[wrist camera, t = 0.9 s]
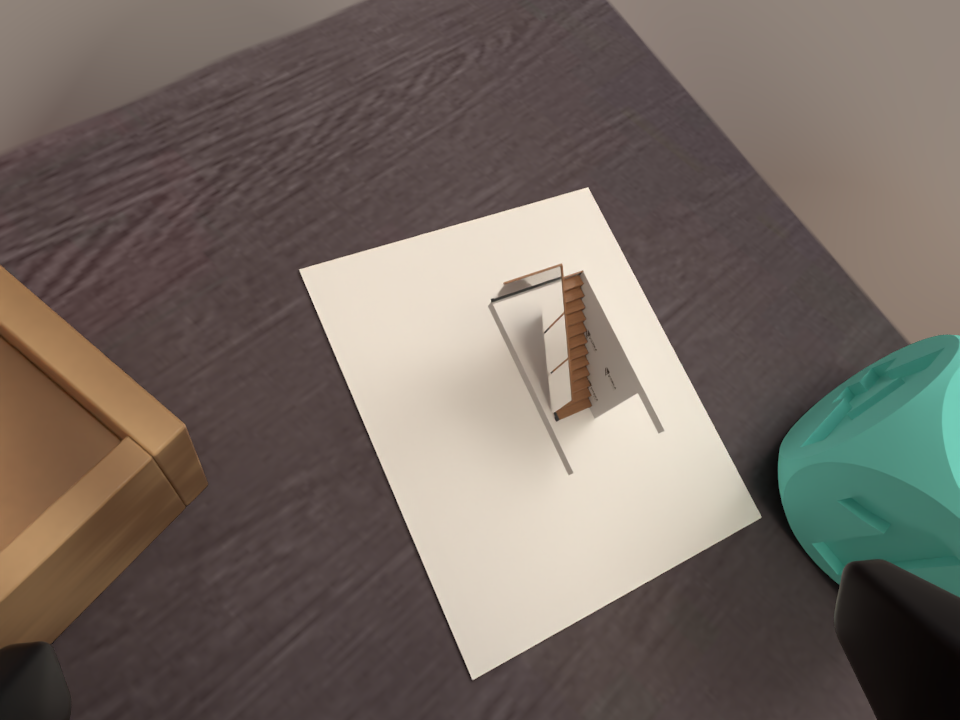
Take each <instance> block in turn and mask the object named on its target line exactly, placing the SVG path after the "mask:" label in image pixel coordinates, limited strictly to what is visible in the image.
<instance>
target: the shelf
mask: <svg viewBox="0 0 960 720" xmlns="http://www.w3.org/2000/svg"><path fill="white" fill-rule="evenodd" d="M207 486H208V482H207V479H206V476H205V474H204V471H203V469H202V466H201V464H200V461H199V459H198V456H197V454H196V451H195V449H194V446H193V443H192V441H191V438H190V436H189V433H188V431H187V428H186V426H185V424H184V423H183V422H182V421H181V420H179V419H178V418H177V417H176V416H175V415H174V414H172V413H171V412H170V411H169V410H168V409H167V408H165V407H164V406H163V405H162V404H161V403H160V402H158V401H157V400H156V399H155V398H154V397H153V396H152V395H150V394H149V393H148V392H147V391H146V390H145V389H143V388H142V387H141V386H140V385H139V384H138V383H136V382H135V381H134V380H133V379H132V378H131V377H130V376H128V375H127V374H126V373H125V372H124V371H123V370H121V369H120V368H119V367H118V366H117V365H116V364H114V363H113V362H112V361H111V360H110V359H109V358H108V357H106V356H105V355H104V354H103V353H102V352H101V351H99V350H98V349H97V348H96V347H95V346H94V345H92V344H91V343H90V342H89V341H88V340H87V339H86V338H84V337H83V336H82V335H81V334H80V333H79V332H77V331H76V330H75V329H74V328H73V327H72V326H70V325H69V324H68V323H67V322H66V321H65V320H63V319H62V318H61V317H60V316H59V315H58V314H57V313H55V312H54V311H53V310H52V309H51V308H50V307H48V306H47V305H46V304H45V303H44V302H43V301H41V300H40V299H39V298H38V297H37V296H36V295H35V294H33V293H32V292H31V291H30V290H29V289H28V288H26V287H25V286H24V285H23V284H22V283H21V282H19V281H18V280H17V279H16V278H15V277H14V276H13V275H11V274H10V273H9V272H8V271H7V270H6V269H4V268H3V267H2V266H1V265H0V649H1V648H3V647H5V646H7V645H11V644H16V643H26V642H36V641H44V642H47V643H49V644H51V643H52V642H53V641H54V640H55V639H56V638H57V637H58V636H59V635H60V634H61V633H62V632H63V631H64V630H65V629H66V628H67V627H68V626H69V625H70V624H71V623H72V622H73V621H74V620H75V619H76V618H77V617H78V616H79V615H80V614H81V613H82V612H83V611H84V610H85V609H86V608H87V607H88V606H89V605H90V604H91V603H92V602H93V601H94V600H95V599H96V598H97V597H98V596H99V595H100V594H101V593H102V592H103V591H104V590H105V589H106V588H107V587H108V586H109V585H110V584H111V583H112V582H113V581H114V580H115V579H116V578H117V577H118V576H119V575H120V574H121V573H122V572H123V571H124V570H125V569H126V568H127V567H128V566H129V565H130V564H131V563H132V562H133V561H134V560H135V559H136V558H137V556H138V555H139V554H140V553H141V552H142V551H143V550H144V549H145V548H146V547H147V546H148V545H149V544H150V543H151V542H152V541H153V540H154V539H155V538H156V537H157V536H158V535H159V534H160V533H161V532H162V531H163V530H164V529H165V528H166V527H167V526H168V525H169V524H170V523H171V522H172V521H173V520H174V519H175V518H176V517H177V516H178V515H179V514H180V513H181V512H182V511H183V510H184V509H185V505H186V506H187V505H189V504H190V503H191V502H192V501H193V500H194V499H195V498H196V497H197V496H198V495H199V494H200V493H201V492H202V491H203V490H204V489H205V488H206V487H207Z"/></svg>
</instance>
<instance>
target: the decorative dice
mask: <svg viewBox="0 0 960 720" xmlns="http://www.w3.org/2000/svg"><path fill="white" fill-rule="evenodd" d="M778 484H779V491H780V496H781V501H782V505H783V508H784V511H785V514H786V517H787V520H788V522H789V525H790V527H791V529H792V531H793V533H794V535H795V537H796V538H797V540H798V541H799V543H800V544H801V546H802V547H803V549H804V550H805V551H806V552H807V554H808V555H809V556H810V557H811V558H812V560H813V561H814V562H815V563H816V564H817V565H818V566H819V567H820V568H821V569H822V570H823V571H824V572H825V573H826V574H827V575H828V576H829V577H831V578H832V579H833V580H834V581H835V582H836V583H838V584H839V585H840V581H841V575H842V571H843V569H844V567H845V566H846V565H847V564H848V563H850V562H852V561H861V560H871V559H882V560H886V561H888V562H890V563H892V564H894V565H896V566H898V567H900V568H902V569H904V570H906V571H908V572H910V573H912V574H914V575H916V576H918V577H920V578H922V579H924V580H926V581H928V582H930V583H932V584H934V585H936V586H938V587H940V588H942V589H944V590H946V591H948V592H950V593H952V594H954V595H956V596H958V597H960V336H958V335H939V336H934V337H930V338H927V339H924V340H921V341H918V342H915V343H913V344H910V345H908V346H906V347H904V348H901V349H899V350H897V351H895V352H893V353H891V354H889V355H887V356H886V357H884V358H882V359H880V360H878V361H877V362H875V363H873V364H871V365H870V366H868V367H866V368H865V369H863V370H862V371H860V372H858V373H857V374H855V375H854V376H852V377H851V378H849V379H848V380H846V381H845V382H844V383H842V384H841V385H839V386H838V387H837V388H835V389H834V390H833V391H831V392H830V393H829V394H827V395H826V396H825V397H824V398H822V399H821V400H820V401H819V402H818V403H816V404H815V405H814V406H813V407H812V408H811V409H810V410H808V411H807V412H806V413H805V414H804V415H803V416H802V417H801V418H800V419H799V420H798V421H797V422H796V423H795V425H794V426H793V427H792V428H791V429H790V431H789V432H788V433H787V435H786V436H785V438H784V439H783V441H782V443H781V445H780V450H779V458H778Z"/></svg>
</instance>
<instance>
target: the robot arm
mask: <svg viewBox="0 0 960 720" xmlns="http://www.w3.org/2000/svg"><path fill="white" fill-rule="evenodd" d="M834 626H835V631H836V634H837V637H838V639H839V641H840V643H841V645H842V648H843V650H844V652H845V654H846V656H847V658H848V660H849V662H850V664H851V666H852V668H853V670H854V672H855V675H856V677H857V679H858V681H859V683H860V685H861V687H862V689H863V691H864V693H865V695H866V697H867V699H868V702H869V704H870V706H871V708H872V710H873V712H874V714H875V716H876V718H877V720H960V597H958V596H956V595H954V594H952V593H950V592H948V591H946V590H944V589H942V588H940V587H938V586H936V585H934V584H932V583H930V582H928V581H926V580H924V579H922V578H920V577H918V576H916V575H914V574H912V573H910V572H908V571H906V570H904V569H902V568H900V567H898V566H896V565H894V564H892V563H890V562H888V561H886V560H882V559H871V560H861V561H852V562H850V563H848V564H847V565H846V566H845V567H844V569H843V571H842V575H841V581H840V586H839V591H838V596H837V601H836V606H835V612H834ZM70 715H71V696H70V692H69V689H68V686H67V683H66V681H65V678H64V675H63V672H62V670H61V667H60V664H59V661H58V659H57V656H56V653H55V651H54V649H53V647H52V646H51V645H50V644H49V643H47V642H44V641H36V642H26V643H16V644H11V645H7V646H5V647H3V648H1V649H0V720H69V719H70Z"/></svg>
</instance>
